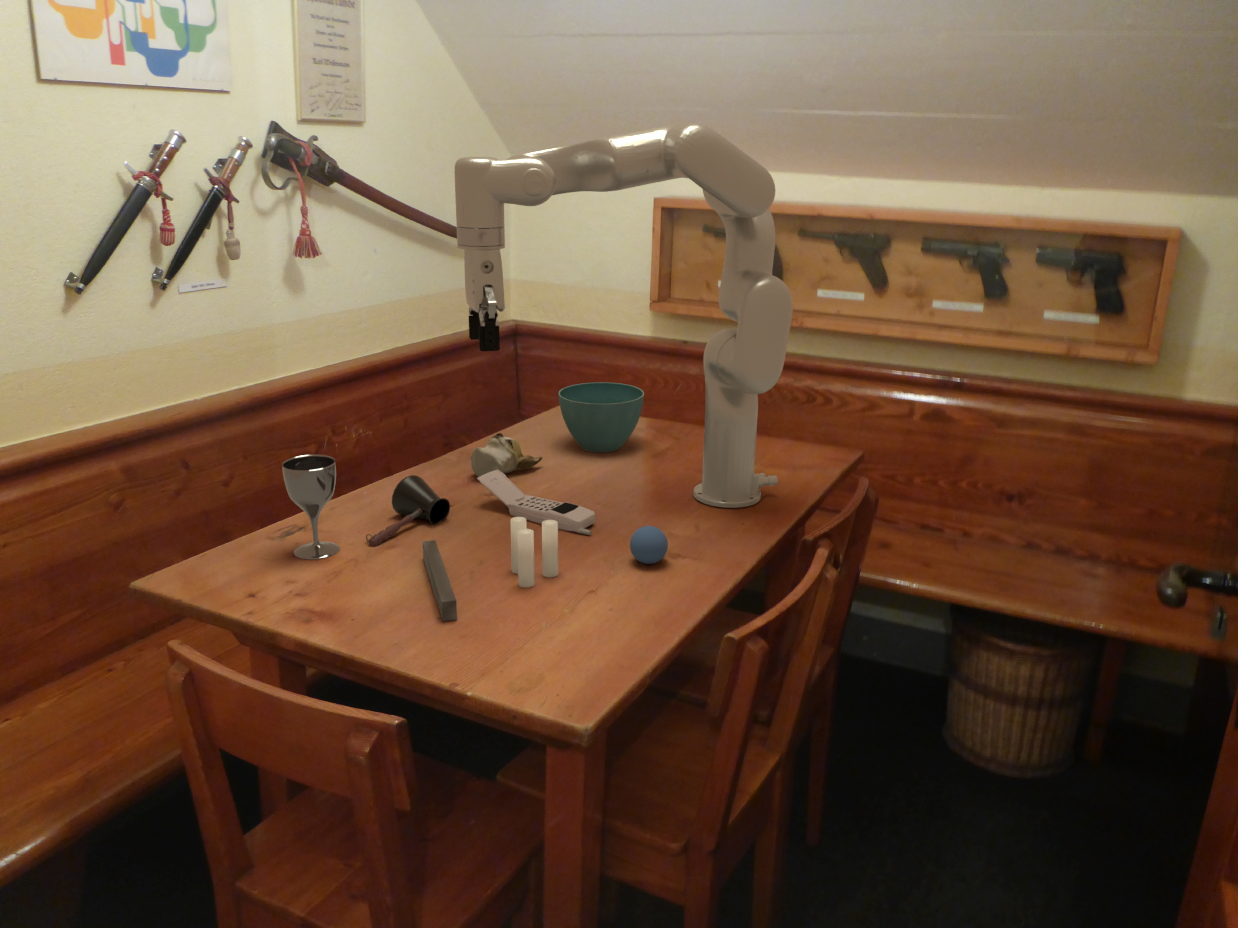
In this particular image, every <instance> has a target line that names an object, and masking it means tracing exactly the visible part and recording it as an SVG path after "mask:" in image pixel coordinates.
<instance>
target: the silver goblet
mask: <svg viewBox="0 0 1238 928" xmlns="http://www.w3.org/2000/svg"><path fill="white" fill-rule="evenodd" d="M281 465H282V475H283V481H284V485H285V489H286V492H287V494H288V497H289V498H290V500H291V501H292V502H293V503H294V504H295V505H296V506H298V507H299V508H300V510H303V512H304V513H305V514H306V515H307V517H308V519H309V521H310V525H311V530H312V539H313V541H312V542H307V543H304V544H302V545H299V546H297V547H296V548H295V549H294V551H293V555H294V557H297V558H299V559H302V560H309V561H310V560H320V559H321V560H322V559H327V558H330V557H332V556H334V555H337V554H338V552H339V551H340V550H341V549H340V545H338V544H337V543H335V542H331V541H325V540H324V541H319V540H320V539H319V533H318V532H319V530H318V529H319V517H320V514H321V512H322V511H323V509H324V508H325V506H326V505H327V504H328V503H329V502H330V500H331V499H332V497H333V496H334V493H335V489H336V488H335V487H336V484H337V483H336V481H337V479H336V478H337V468H336V467H337V466H336V459H335V458H334V456H333V457H332V456H330V455H326V454H304V455H298V456H294V457H291V458H288V459H285V461H283V462H282V464H281Z"/></svg>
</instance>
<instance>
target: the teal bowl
mask: <svg viewBox="0 0 1238 928" xmlns="http://www.w3.org/2000/svg"><path fill="white" fill-rule="evenodd" d="M644 400H645V392H644V390H642V389H641V388H639V387H637V386H634V385H631V384H625V383H620V382H619V383H618V382H605V381H604V382H601V381H600V382H586V383H579V384H578V383H577V384H572V385H568V386H566V387H563V388H561V389H560V390H559V391H558V402H559V406H560V412H561V415H562V417H563V420H564V423H565V425H566V428H567V429H568V432H569V433H570V435H571V436H572V437H573V439H574V440H575V442H576V443H577V444H578V445H579V447H581V448H582V449H583V450H584V451H588V452H591V453H601V454H602V453H603V454H604V453H613V452H616V451H617V450H620V449H621V447H623V445H624V444H625V443H626V442H627V441H628V440H629V438H630V437H631V436H632V434H633V433H634V431H635V429H636V427H637V425H638V422H639V419H640V417H641V414H642V410H643V405H644Z"/></svg>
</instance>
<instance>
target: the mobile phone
mask: <svg viewBox="0 0 1238 928" xmlns="http://www.w3.org/2000/svg"><path fill="white" fill-rule="evenodd" d="M476 479H477V481H479V483H481V484H482V485H483V486H484V487H485V488H486V489H487V490H488V491H489V492H490V493H491V494H492V495H494V496H495V497H496V498H497V499H499V501H501V502H502V503H503V504H504V505H505V506H506V507H507V508H508V512H509V515H511V516H513V517H524V518H526V521H529V522H533V523H536V524H539V525H542V522H543V521H545V520H555V521H557V522H558V530H561V531H562V530H563V531H567V532H574V533H577V534H582V535H588V536H591V535H592V530H589V529H587V528H588V527H590V526H591V525H593V524H595V522H596V514H595V513H596V512H595V511H594V510H592V509H589V508H587V507H584V506H581V505H578V504H577V503H576V504H575V503H571V502H568V501H565V502H560V501H557V500H552V499H549V498H548V499H547V498H543V497H538V496H533V495H531V494H528V495H527V494H526V493H525V492H524V491H522V490H521V489H520V488H519V487H518V486H517V485H516V484H515V483H514V482H512V481H511V480H510V479H509V478H508V477H507V475H506V473H505V474H503V473H502V472H500V471H499V470H498V469H497V470H495V471H492V472H489V473H486V474H484V475H482V476H480V477H478V476H477V477H476Z"/></svg>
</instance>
